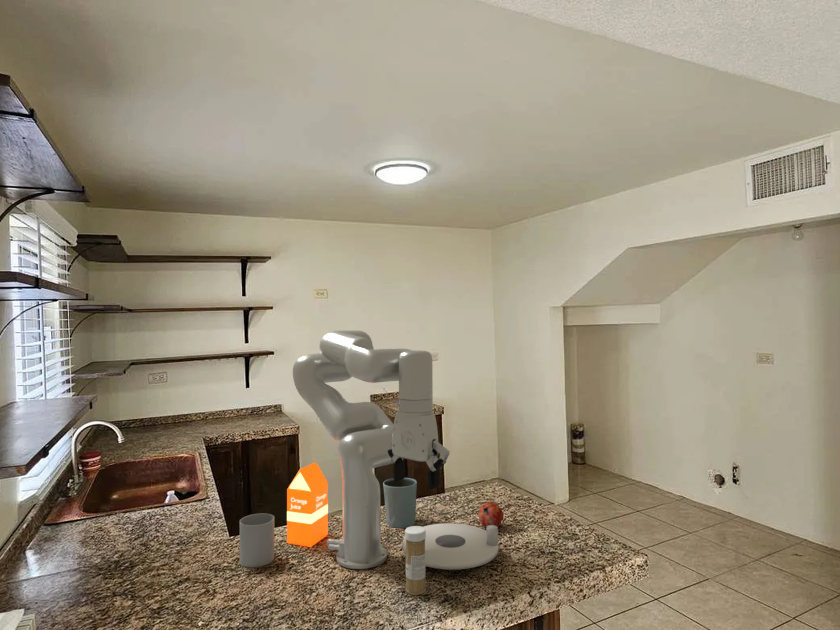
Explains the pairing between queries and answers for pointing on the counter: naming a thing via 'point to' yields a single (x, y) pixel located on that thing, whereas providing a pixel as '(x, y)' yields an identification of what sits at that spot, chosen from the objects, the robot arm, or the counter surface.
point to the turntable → (459, 546)
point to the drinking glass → (400, 502)
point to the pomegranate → (490, 514)
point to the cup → (256, 540)
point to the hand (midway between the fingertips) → (416, 483)
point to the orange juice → (307, 507)
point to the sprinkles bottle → (415, 560)
